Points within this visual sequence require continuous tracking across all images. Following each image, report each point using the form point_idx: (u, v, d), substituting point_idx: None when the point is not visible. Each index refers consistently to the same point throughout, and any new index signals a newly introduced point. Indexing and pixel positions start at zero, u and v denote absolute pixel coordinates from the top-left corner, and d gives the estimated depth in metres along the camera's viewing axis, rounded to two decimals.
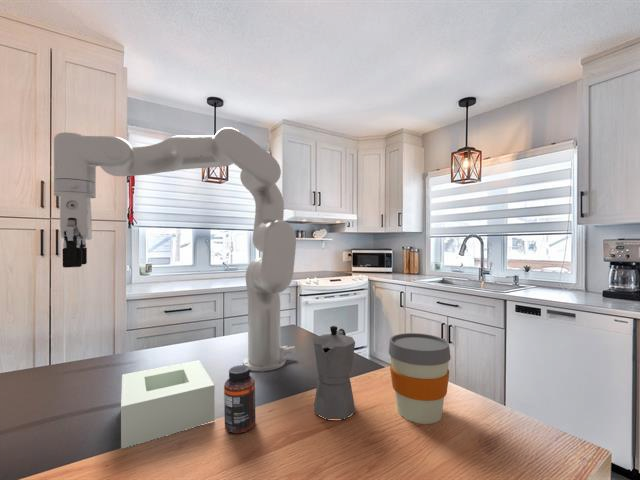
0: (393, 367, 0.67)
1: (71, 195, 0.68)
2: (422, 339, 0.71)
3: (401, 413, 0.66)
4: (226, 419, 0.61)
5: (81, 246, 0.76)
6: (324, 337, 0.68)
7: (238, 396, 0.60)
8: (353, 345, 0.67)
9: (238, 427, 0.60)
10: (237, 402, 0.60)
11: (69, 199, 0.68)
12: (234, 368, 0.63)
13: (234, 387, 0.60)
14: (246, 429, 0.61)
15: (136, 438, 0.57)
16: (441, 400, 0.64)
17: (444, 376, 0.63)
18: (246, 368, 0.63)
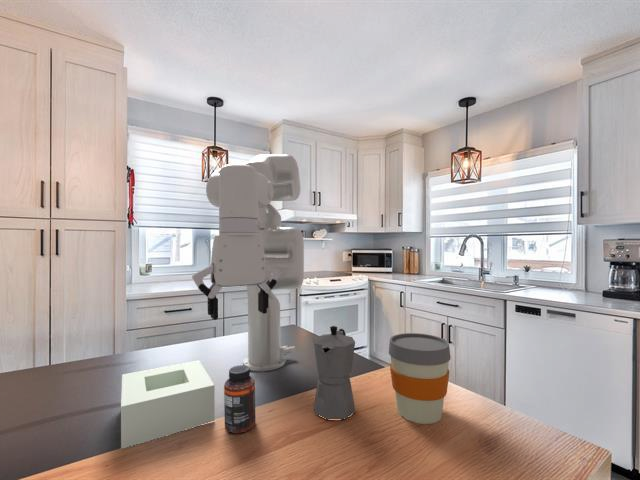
0: (393, 367, 0.67)
1: None
2: (423, 339, 0.71)
3: (401, 413, 0.66)
4: (226, 419, 0.61)
5: None
6: (324, 337, 0.68)
7: (238, 396, 0.60)
8: (353, 345, 0.67)
9: (238, 427, 0.60)
10: (237, 402, 0.60)
11: None
12: (234, 368, 0.63)
13: (234, 387, 0.60)
14: (246, 429, 0.61)
15: (136, 438, 0.57)
16: (441, 400, 0.64)
17: (444, 376, 0.63)
18: (246, 368, 0.63)
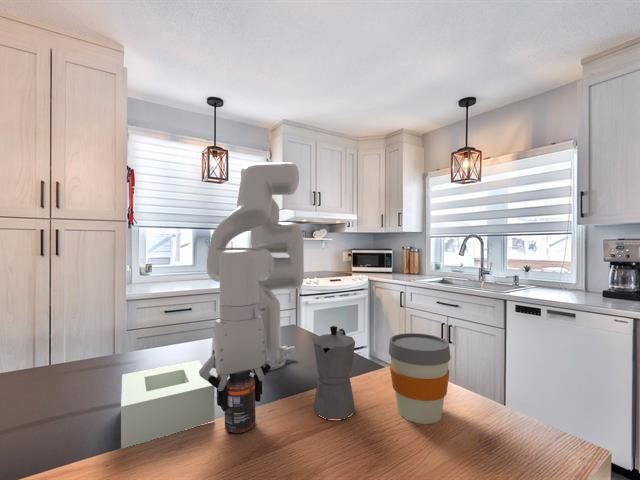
0: (393, 367, 0.67)
1: None
2: (423, 339, 0.71)
3: (401, 413, 0.66)
4: (226, 419, 0.61)
5: None
6: (324, 337, 0.69)
7: (238, 396, 0.60)
8: (353, 345, 0.67)
9: (238, 427, 0.60)
10: (238, 402, 0.60)
11: None
12: None
13: (235, 386, 0.60)
14: (246, 429, 0.61)
15: (136, 438, 0.57)
16: (441, 400, 0.64)
17: (444, 376, 0.63)
18: None
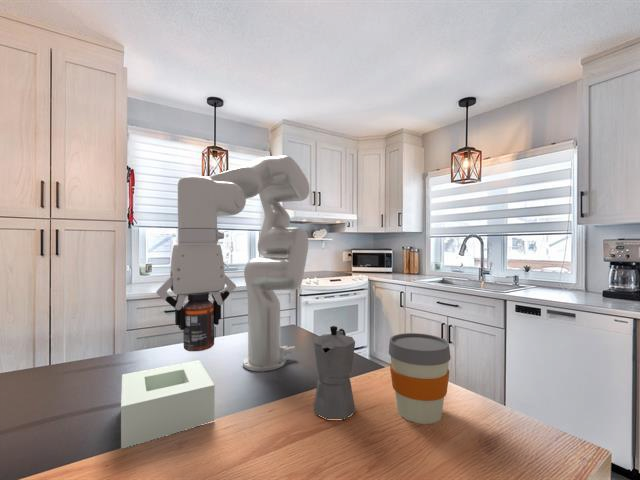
0: (393, 367, 0.67)
1: None
2: (423, 339, 0.71)
3: (401, 413, 0.66)
4: (184, 338, 0.63)
5: None
6: (324, 337, 0.68)
7: (195, 315, 0.62)
8: (353, 345, 0.67)
9: (196, 345, 0.62)
10: (195, 321, 0.62)
11: None
12: None
13: (192, 306, 0.63)
14: (204, 347, 0.63)
15: (136, 438, 0.57)
16: (441, 400, 0.64)
17: (444, 376, 0.63)
18: None
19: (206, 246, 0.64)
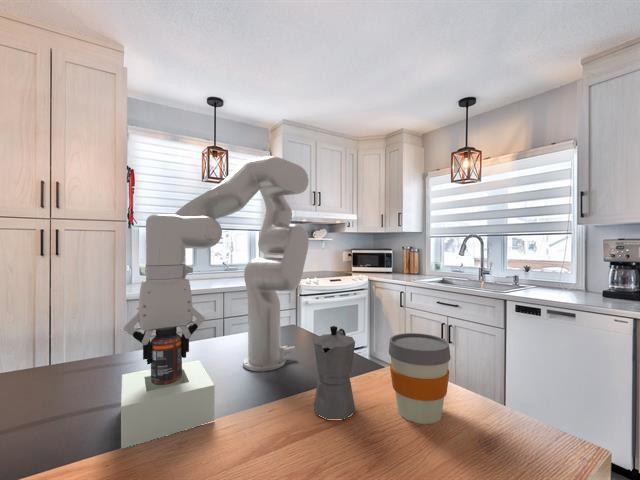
0: (393, 367, 0.67)
1: None
2: (422, 339, 0.71)
3: (401, 413, 0.66)
4: (151, 372, 0.65)
5: None
6: (324, 337, 0.68)
7: (161, 350, 0.64)
8: (353, 345, 0.67)
9: (161, 379, 0.64)
10: (161, 356, 0.64)
11: None
12: None
13: (158, 341, 0.64)
14: (169, 381, 0.65)
15: (136, 438, 0.57)
16: (441, 400, 0.64)
17: (444, 376, 0.63)
18: None
19: (173, 282, 0.66)
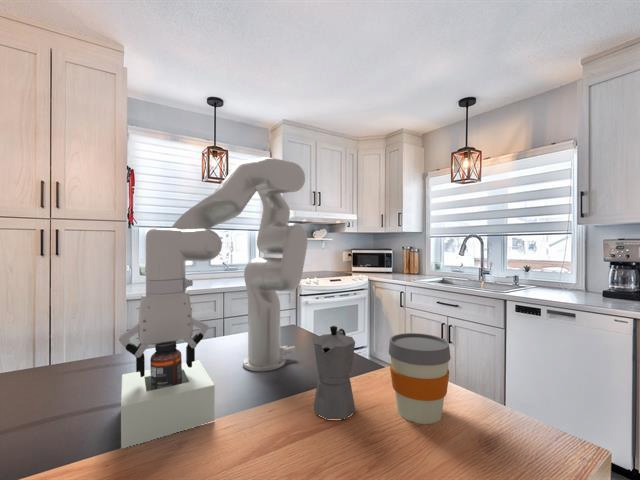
0: (393, 367, 0.67)
1: (188, 293, 0.69)
2: (422, 339, 0.71)
3: (401, 413, 0.66)
4: (151, 388, 0.65)
5: None
6: (324, 337, 0.69)
7: (161, 367, 0.64)
8: (353, 345, 0.67)
9: None
10: (161, 373, 0.64)
11: (189, 298, 0.69)
12: None
13: (158, 358, 0.64)
14: None
15: (136, 438, 0.57)
16: (441, 400, 0.64)
17: (444, 376, 0.63)
18: (172, 342, 0.67)
19: (173, 296, 0.66)
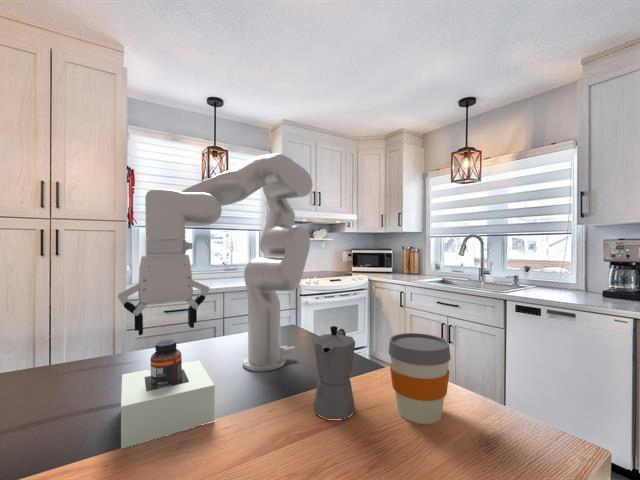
0: (393, 367, 0.67)
1: (188, 256, 0.69)
2: (422, 339, 0.71)
3: (401, 413, 0.66)
4: (151, 388, 0.65)
5: None
6: (324, 337, 0.68)
7: (161, 367, 0.64)
8: (353, 345, 0.67)
9: None
10: (161, 373, 0.64)
11: (189, 260, 0.69)
12: (162, 342, 0.67)
13: (158, 358, 0.64)
14: None
15: (136, 438, 0.57)
16: (441, 400, 0.64)
17: (444, 376, 0.63)
18: (172, 342, 0.67)
19: (173, 257, 0.66)
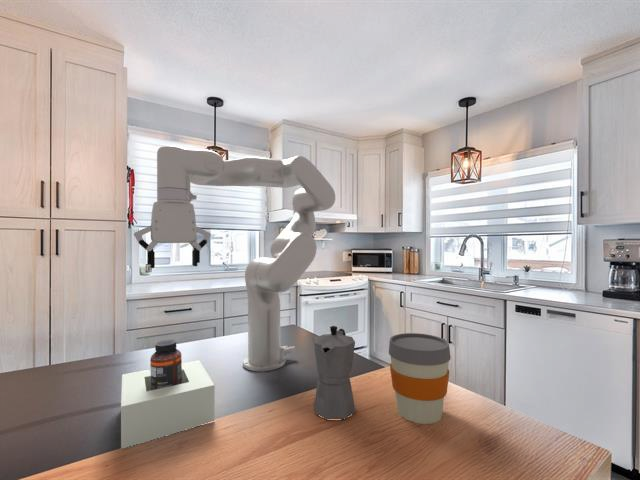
0: (393, 367, 0.67)
1: None
2: (422, 339, 0.71)
3: (401, 413, 0.66)
4: (151, 388, 0.65)
5: None
6: (324, 337, 0.69)
7: (161, 367, 0.64)
8: (353, 345, 0.67)
9: None
10: (161, 373, 0.64)
11: None
12: (161, 342, 0.67)
13: (158, 358, 0.64)
14: None
15: (136, 438, 0.57)
16: (441, 400, 0.64)
17: (444, 376, 0.63)
18: (172, 342, 0.67)
19: (180, 203, 0.77)
